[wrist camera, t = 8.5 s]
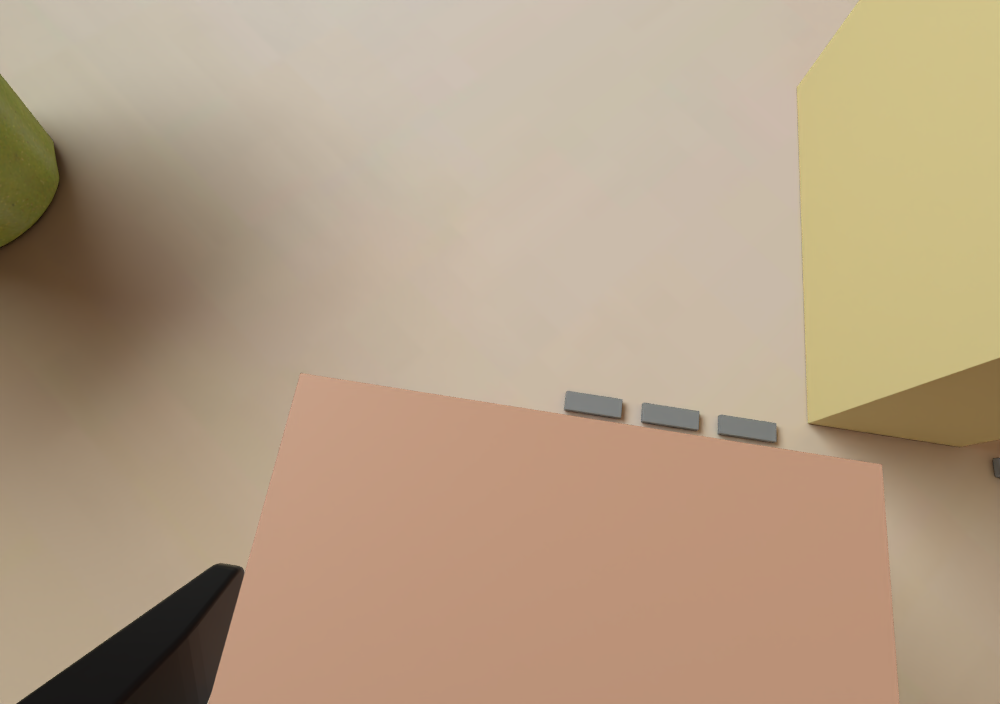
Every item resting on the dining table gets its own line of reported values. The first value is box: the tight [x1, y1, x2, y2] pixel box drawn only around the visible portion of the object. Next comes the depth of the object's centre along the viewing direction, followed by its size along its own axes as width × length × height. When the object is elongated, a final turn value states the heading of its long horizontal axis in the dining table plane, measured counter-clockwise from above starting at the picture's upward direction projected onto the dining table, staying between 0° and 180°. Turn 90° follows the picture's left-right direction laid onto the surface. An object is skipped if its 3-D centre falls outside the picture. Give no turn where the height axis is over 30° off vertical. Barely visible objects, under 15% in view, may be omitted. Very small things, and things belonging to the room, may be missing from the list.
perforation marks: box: [564, 391, 1000, 478], centre depth 18 cm, size 1×21×1 cm, turn 81°
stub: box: [208, 373, 899, 704], centre depth 10 cm, size 5×5×12 cm
